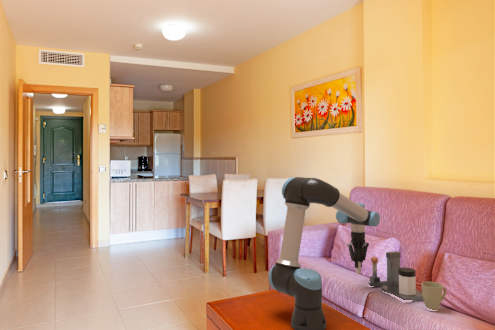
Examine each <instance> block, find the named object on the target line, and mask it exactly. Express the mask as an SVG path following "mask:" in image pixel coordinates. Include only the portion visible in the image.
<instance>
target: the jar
mask: <svg viewBox="0 0 495 330" xmlns="http://www.w3.org/2000/svg"><path fill="white" fill-rule="evenodd" d="M416 273H417V272H416V270H415V269H414V268H410V267H400V268H399V269H398V274H399V293H400V294H403V295H407V296H410V295H416V290H417V287H416V284H417V283H416V281H417V280H416V278H417V277H416Z"/></svg>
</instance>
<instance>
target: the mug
mask: <svg viewBox="0 0 495 330" xmlns="http://www.w3.org/2000/svg"><path fill="white" fill-rule="evenodd" d="M421 293H422V296H423V300H424V301H423V303H424V306H425V308H426V307H427V308H429V309H432V310H438V311H439V309H440V305H441V302H442V301H443V300H444V299H445V297H446V295H447V288H446V287H445V286H444V285H443V284H442V283H439V282H436V281H422V282H421Z"/></svg>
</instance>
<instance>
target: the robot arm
mask: <svg viewBox="0 0 495 330" xmlns="http://www.w3.org/2000/svg"><path fill="white" fill-rule="evenodd" d="M281 195H282V198H283V199H284V201H285V202H284V204H285V206H286V208H287V209H286V215H285V220H284V228H283V234H282V242H281V249H280V253H279V254H280V255H279V258H278V259H277V260H275V264H274V265H272V266H271V268H270V269H269V271H268V283H269V285H270V286H271V288H272V289H273V290H276V291H277V292H278V293H281V294H285V295H288V296H290V297H292V298H294V308H293V311H292V315H291V319H290V326H291V327H292V329H294V330H326V329H327V319H326V317H325V314H324V311H323V281H322V275H321V274H320V273H319V272H318V271H317V270H314V269H311V268H306V267H302V266H301V264H300V262H299V257H300V256H299V255H300V251H301V250H300V249H301V243H302V237H303V229H304V223H305V222H304V221H305V217H306V211H307V210H308V209H309V208H310V204H318V205H323V206H325V207H328V208H333V209H335V210H336V214H335V219H336V221H337V222H338V223H340V224H350V230H351V232H350V239H351V240H350V242H349V243H347V244H346V246H347V247H348V252H349V256H350V259H351V262H352V261H353V262H354V268H355V274H357V275H361V274H362V268H363V262H364V261H366V257H367V253H368V251H367V250H368V248H369V246H370V243H369V242H367V241H366V232H365V231H366V227H377V226H379V224H380V220H381V216H380V214H379V212H377V211H374V210H372V211H371V210H368V209H366V207H365V204H364V203H361V202H355V201H354V200H352V199H351V198H348V197H347V196H345V195H344V194H342V193H341V192H340V189H338V187H335V186H333V185H331V184H330V183H329V182H326V181H324V180H322V179H320V178H316V177H303V176H301V177H300V176H296V177H290V178H287V180H286V181H285V182H284V183H283V185H282V187H281Z"/></svg>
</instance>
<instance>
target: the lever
mask: <svg viewBox="0 0 495 330" xmlns="http://www.w3.org/2000/svg"><path fill="white" fill-rule="evenodd" d="M370 262H371V264H372V265H371V267H372V269H371V272H372V275H370V276H369V283H373V284H377V283H380V281H381V277H379V276H378V262H379V258H378V257H377V256H372V257H371V258H370Z"/></svg>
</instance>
